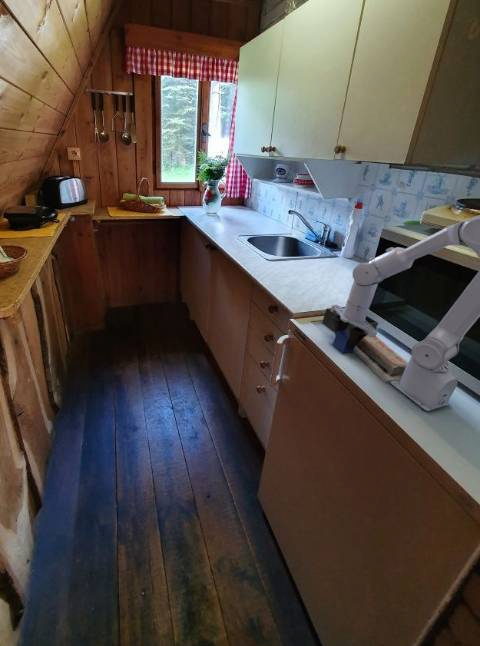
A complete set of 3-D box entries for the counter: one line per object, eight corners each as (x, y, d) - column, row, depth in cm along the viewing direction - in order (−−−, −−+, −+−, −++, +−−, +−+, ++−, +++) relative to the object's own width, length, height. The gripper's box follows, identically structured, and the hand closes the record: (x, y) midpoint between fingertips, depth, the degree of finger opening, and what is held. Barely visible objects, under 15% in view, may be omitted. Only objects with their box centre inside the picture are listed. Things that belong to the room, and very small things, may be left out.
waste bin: (372, 337, 98) (378, 322, 96) (347, 341, 94) (352, 326, 92) (346, 319, 108) (351, 305, 106) (322, 322, 104) (326, 308, 102)
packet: (352, 351, 90) (358, 337, 88) (342, 353, 88) (347, 338, 86) (342, 343, 93) (347, 329, 91) (332, 345, 92) (337, 330, 90)
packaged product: (347, 329, 93) (376, 329, 94) (342, 342, 94) (370, 342, 96) (391, 369, 76) (425, 369, 78) (384, 384, 78) (417, 384, 80)
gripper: (328, 292, 90) (316, 331, 95) (369, 318, 77) (353, 361, 82) (346, 291, 92) (333, 329, 97) (389, 315, 80) (372, 358, 85)
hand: (343, 344), depth 90 cm, fingers closed on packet, 4 cm apart
